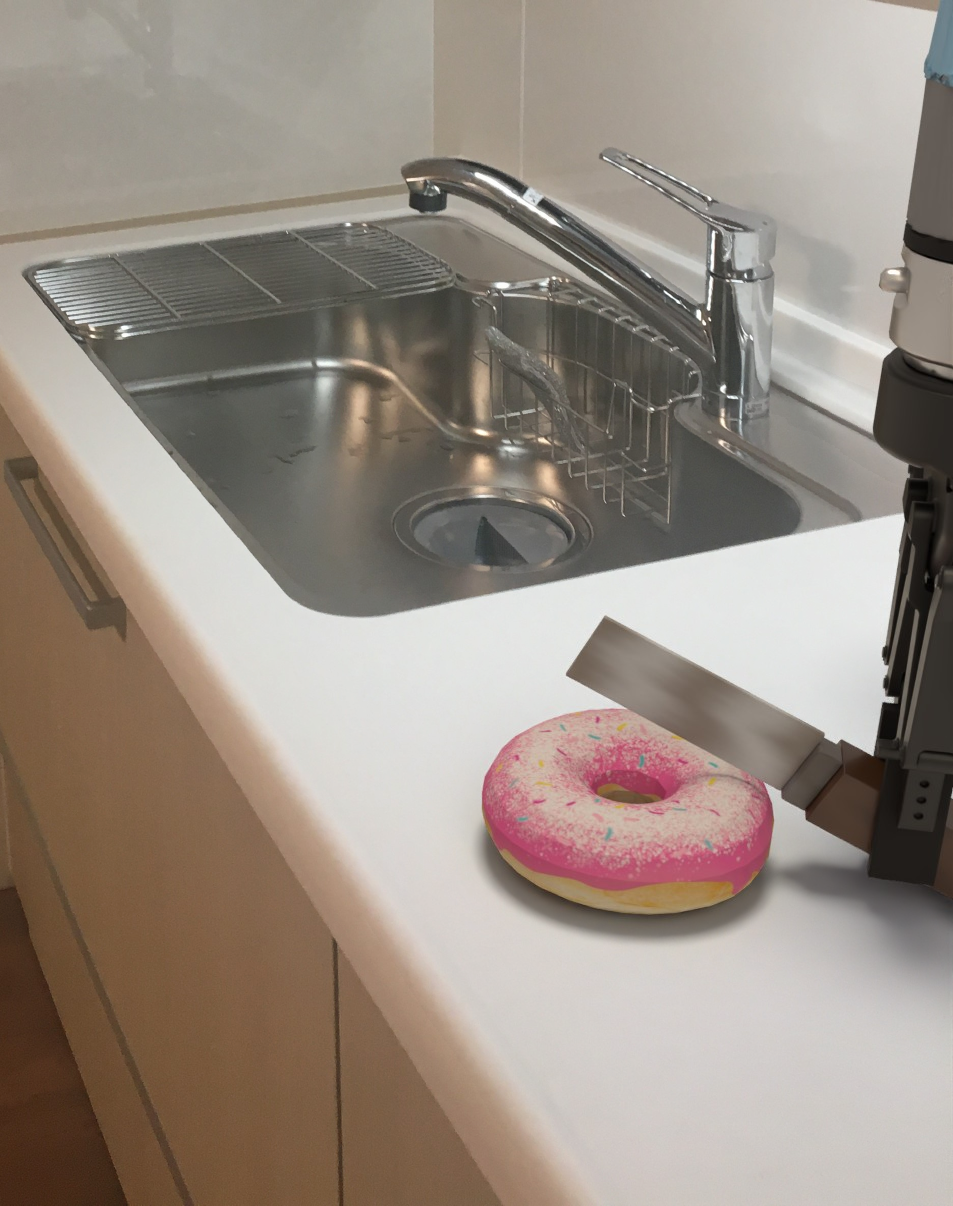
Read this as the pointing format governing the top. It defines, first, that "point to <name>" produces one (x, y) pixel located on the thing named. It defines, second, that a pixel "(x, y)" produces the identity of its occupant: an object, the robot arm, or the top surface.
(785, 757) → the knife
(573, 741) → the donut
